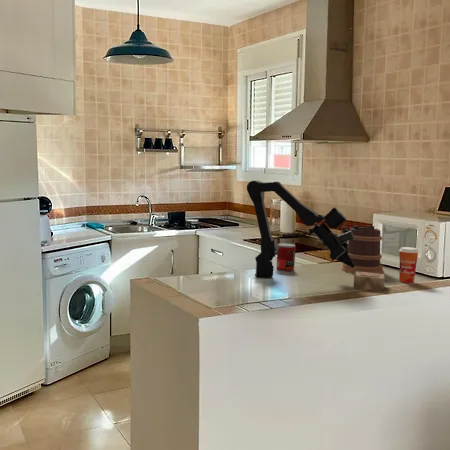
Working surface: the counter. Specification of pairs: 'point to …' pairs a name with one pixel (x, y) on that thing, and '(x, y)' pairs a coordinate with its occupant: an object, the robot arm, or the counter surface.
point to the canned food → (286, 257)
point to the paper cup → (408, 264)
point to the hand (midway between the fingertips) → (354, 266)
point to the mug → (364, 250)
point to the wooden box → (369, 281)
